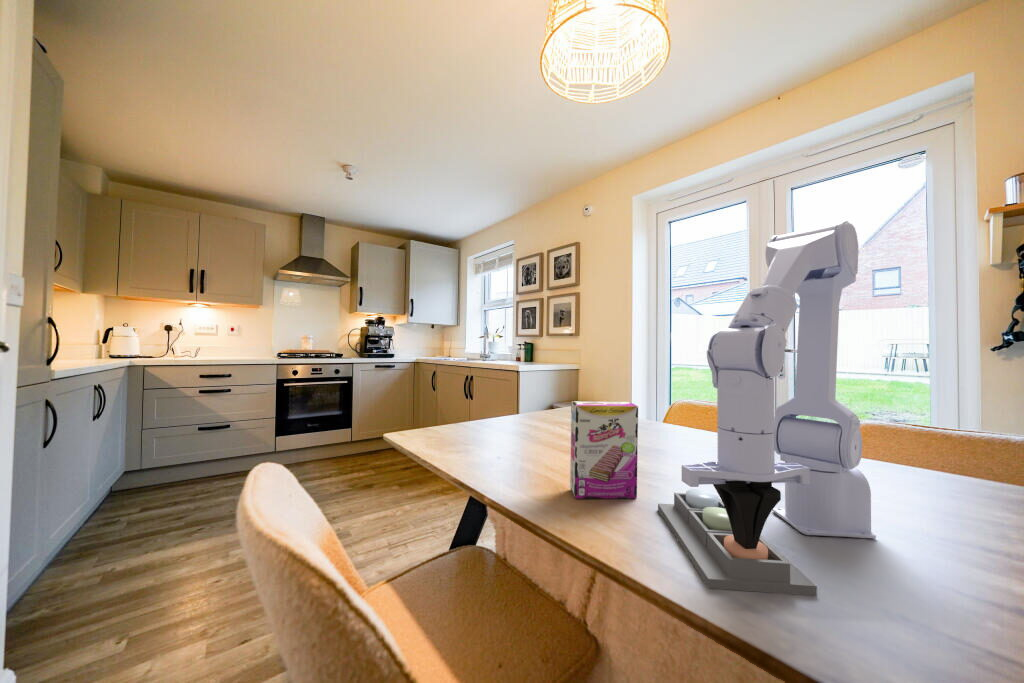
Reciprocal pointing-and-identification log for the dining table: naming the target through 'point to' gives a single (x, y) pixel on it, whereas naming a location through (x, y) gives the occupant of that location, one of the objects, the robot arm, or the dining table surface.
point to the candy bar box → (604, 449)
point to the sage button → (716, 519)
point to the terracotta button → (745, 550)
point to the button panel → (719, 564)
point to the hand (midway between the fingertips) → (745, 545)
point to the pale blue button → (701, 499)
